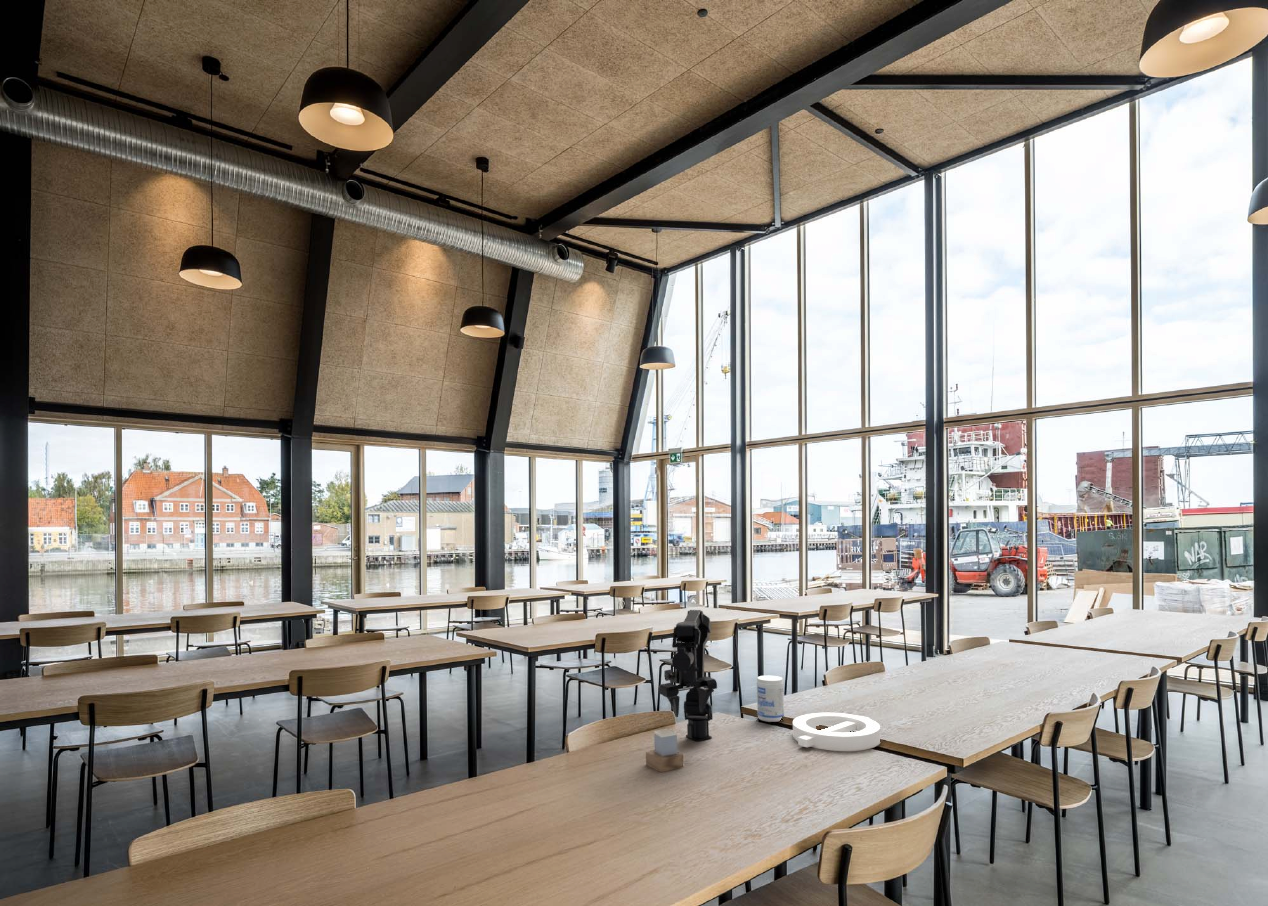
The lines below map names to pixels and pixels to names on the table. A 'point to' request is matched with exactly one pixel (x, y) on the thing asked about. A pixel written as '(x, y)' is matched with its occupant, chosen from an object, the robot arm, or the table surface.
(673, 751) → the white block
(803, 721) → the ring with crossbar
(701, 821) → the table surface
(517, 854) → the table surface
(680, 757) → the walnut block
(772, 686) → the supplement tub
